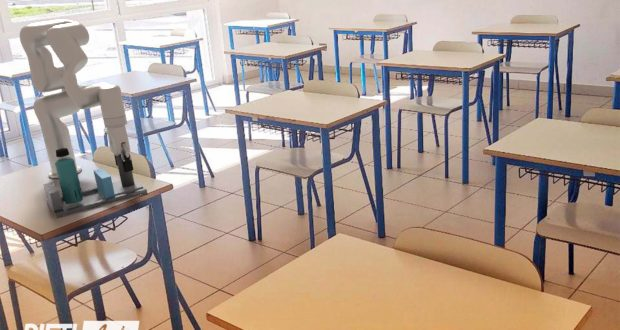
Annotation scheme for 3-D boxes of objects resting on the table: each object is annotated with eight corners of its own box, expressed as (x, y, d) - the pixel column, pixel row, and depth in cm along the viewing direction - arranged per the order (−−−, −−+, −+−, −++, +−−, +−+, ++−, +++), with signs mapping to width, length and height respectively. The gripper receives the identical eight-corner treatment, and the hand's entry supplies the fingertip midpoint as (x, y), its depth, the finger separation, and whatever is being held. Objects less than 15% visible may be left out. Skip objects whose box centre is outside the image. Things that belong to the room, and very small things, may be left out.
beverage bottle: (78, 208, 213) (65, 151, 206) (60, 208, 214) (47, 152, 208) (88, 201, 219) (75, 145, 212) (71, 201, 220) (58, 146, 214)
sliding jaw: (98, 191, 226) (90, 155, 221) (133, 182, 232) (126, 146, 227) (106, 200, 216) (98, 163, 211) (143, 190, 222) (136, 153, 218)
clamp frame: (47, 204, 220) (42, 182, 217) (133, 181, 234) (129, 161, 231) (56, 218, 206) (51, 195, 203) (147, 193, 220) (143, 171, 218)
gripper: (98, 119, 223) (107, 165, 228) (111, 127, 208) (121, 176, 214) (119, 114, 226) (128, 160, 232) (133, 123, 212) (142, 171, 217)
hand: (124, 168), depth 223 cm, fingers open, 9 cm apart
